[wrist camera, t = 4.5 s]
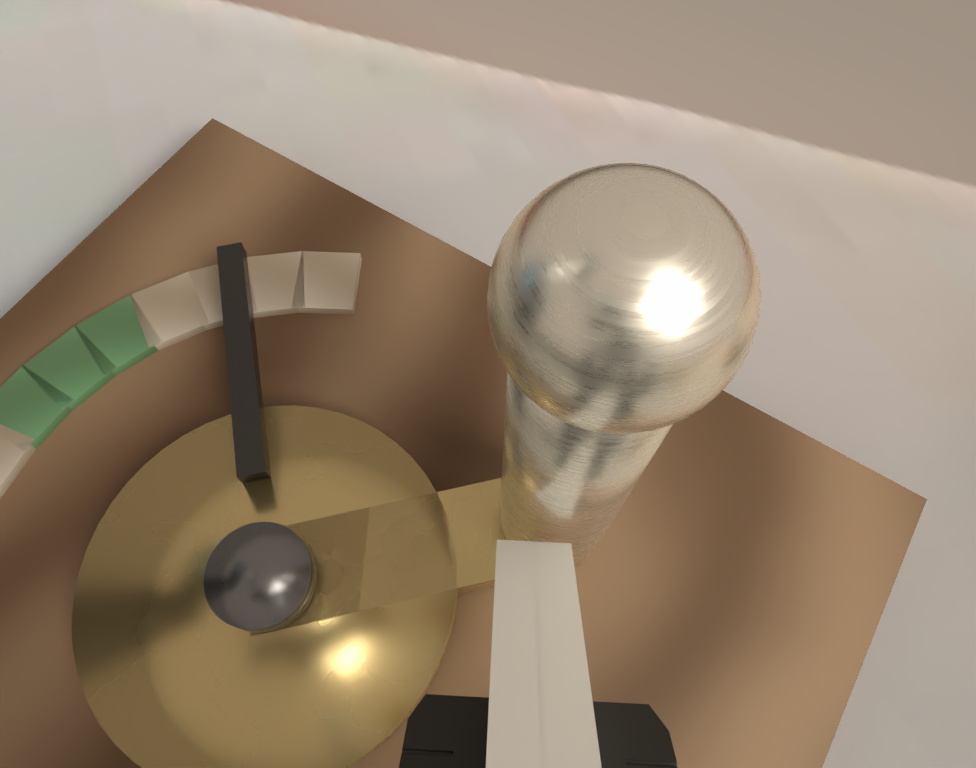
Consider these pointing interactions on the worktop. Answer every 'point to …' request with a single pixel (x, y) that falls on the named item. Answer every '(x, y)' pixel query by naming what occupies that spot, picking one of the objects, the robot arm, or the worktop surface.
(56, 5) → the worktop surface
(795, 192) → the worktop surface
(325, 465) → the dial
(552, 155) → the worktop surface
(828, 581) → the gauge board
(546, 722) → the robot arm
